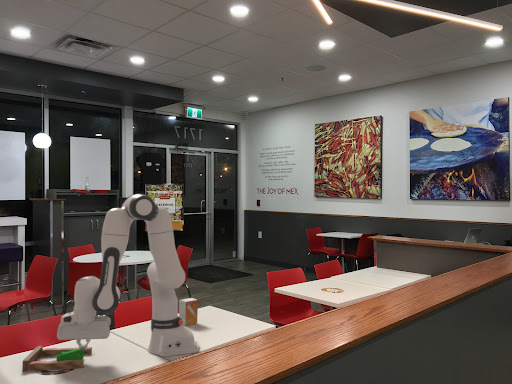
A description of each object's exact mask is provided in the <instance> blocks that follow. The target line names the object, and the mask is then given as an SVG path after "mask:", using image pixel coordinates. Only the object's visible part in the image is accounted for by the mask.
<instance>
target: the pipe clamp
mask: <svg viewBox="0 0 512 384" xmlns="http://www.w3.org/2000/svg"><path fill="white" fill-rule="evenodd" d="M79 354H80V355H79ZM84 357H85V355H84V350H79V349H77V350H75V349H70V351H68V352H60V355H57V356H56V360H55V361H67V360H84Z"/></svg>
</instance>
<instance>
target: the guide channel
mask: <svg viewBox="0 0 512 384" xmlns="http://www.w3.org/2000/svg"><path fill="white" fill-rule="evenodd" d="M43 346H44V345H38V346H36V347H35V348H34V349H33V350H32V351H30V353H28V355H26V357H25V358H24V359H23V360H22V368H21V369H22V372H32V371H33V372H35V371H36V372H37V371H51V370H67V369H69V370H70V369H82V368H84V365H85V360H84V359H81V360H67V361H56V360H54V361H53V360H51V361H47V360H40V361H39V360H38V359H40V358H46V357H57V355H60V352H68V351H70V349H75V350H77V349H79V347H66V348H65V347H63V348H61V347H60V348H58V347H52V348H51V347H50V348H49V347H48V348H44V347H43ZM92 352H93V347H92V346H87V350H84V356H86V355H87V354H88V355H91V354H92ZM79 355H80V354H79ZM37 360H38V361H37Z"/></svg>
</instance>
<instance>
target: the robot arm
mask: <svg viewBox="0 0 512 384" xmlns="http://www.w3.org/2000/svg"><path fill="white" fill-rule="evenodd" d="M135 220H136V221H137V220H138V221H140V220H141V221H144V222H145V223H146V227H147V228H146V229H147V236H148V246H149V252H150V254H151V256H152V258H153V261H152V262H151V263H150V264H149V265H148V267H147V270H146V275H147V277H148V279H149V280H148V281H149V287H150V293H151V298H152V299H151V300H152V303H151V304H152V308H151V309H152V310H151V311H152V315H151V316H152V317H151V318H150V319H151V320H150V331H151V335H150V340H149V345H148V348H147V352H149V353H150V354H153V355H158V356H159V357H163V358H164V357H171V356H172V357H173V356H180V355H189V354H196V353H197V352H198V351H199V350H200V344H199V342H198V341H196V340H195V336H194V333H193V332H192V331H191V330H190V329H189V328H187V326H184V325H182V324H183V320H182V318H181V317H179V311H178V309H179V304H178V302H179V301H178V297H177V295H176V291H175V289H178V288H180V287H181V286H183V284H184V283H185V281H186V272H185V270H184V269H183V267H182V265H181V261H180V258H179V256H178V255H179V254H178V252H177V249H176V244H175V235H174V229H173V228H174V227H173V223H172V218H171V214H170V212H169V210H168V209H167V208H166V207H164V206H163V207H162V206H158V205H157V204H156V203H155V202H154V200H153V199H152V198H151V197H150V196H149V195H147V194H142V193H136V194H131V195H130V196H128V197H127V198H126V199H125V200H124V201H123V202H122V203H121V205H120V207H114V208H111V209H109V210H108V211H107V212H106V214H105V218H104V221H103V225H102V229H101V230H102V231H101V236H100V237H101V239H100V240H101V242H100V244H101V246H100V247H101V257H102V258H101V259H102V265H101V271H100V273H101V274H100V278H98V277H96V276H95V275H89V276H84V277H80V278H79V279H78V280H77V281H76V283H75V285H74V295H73V301H74V307H73V311H70V312H67V313H64V314H63V315H62V316H61V317H60V323H59V325H58V327H57V332H56V339H57V340H58V341H67V340H68V341H69V340H70V341H71V340H75V341H76V344H77V345H78V348H79V350H87V347H88V345H89V343H90V342H91V340H107V339H108V338H109V337H110V334H111V331H110V326H111V323H112V319H111V317H110V316H108V315H109V314H113V312H115V311H116V310H117V309H118V307H119V304H120V297H121V290H120V288H119V286H117V281H118V280H117V279H118V274H119V273H118V272H119V266H120V263H121V260H122V259H123V256H124V255H125V252H126V249H127V248H128V247H127V246H128V243H129V238H130V228H131V226H132V223H133V222H134V221H135ZM97 313H98V314H100V315H97ZM82 340H85V342H86V343H85V344H82V342H81V341H82Z"/></svg>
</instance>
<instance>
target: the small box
mask: <svg viewBox="0 0 512 384" xmlns="http://www.w3.org/2000/svg"><path fill="white" fill-rule="evenodd" d="M178 302H179V304H178V309H179V311H178V317H181V318H182V320H183V324H182V325H183V326H184V327H187V326H192V325H195V324H196V323H197V324H198V314H199V313H198V307H199V306H198V305H199V304H198V303H199V301H198V299H197V298H193V297H190V298H184V299H183V298H182V299H179V301H178ZM197 324H196V325H197Z"/></svg>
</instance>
